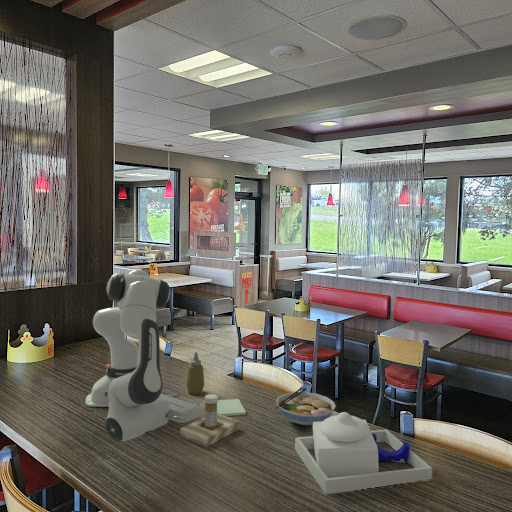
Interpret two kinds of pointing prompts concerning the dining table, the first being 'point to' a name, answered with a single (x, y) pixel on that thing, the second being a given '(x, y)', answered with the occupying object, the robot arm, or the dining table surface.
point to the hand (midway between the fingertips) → (187, 399)
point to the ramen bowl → (305, 407)
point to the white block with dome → (345, 446)
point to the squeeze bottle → (195, 376)
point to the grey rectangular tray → (364, 480)
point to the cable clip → (393, 452)
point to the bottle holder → (206, 437)
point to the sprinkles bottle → (211, 411)
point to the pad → (230, 407)
